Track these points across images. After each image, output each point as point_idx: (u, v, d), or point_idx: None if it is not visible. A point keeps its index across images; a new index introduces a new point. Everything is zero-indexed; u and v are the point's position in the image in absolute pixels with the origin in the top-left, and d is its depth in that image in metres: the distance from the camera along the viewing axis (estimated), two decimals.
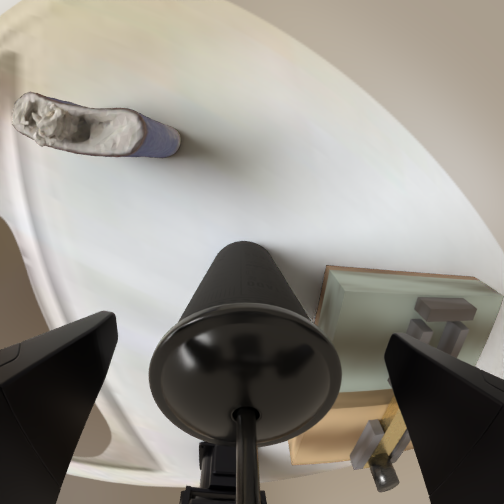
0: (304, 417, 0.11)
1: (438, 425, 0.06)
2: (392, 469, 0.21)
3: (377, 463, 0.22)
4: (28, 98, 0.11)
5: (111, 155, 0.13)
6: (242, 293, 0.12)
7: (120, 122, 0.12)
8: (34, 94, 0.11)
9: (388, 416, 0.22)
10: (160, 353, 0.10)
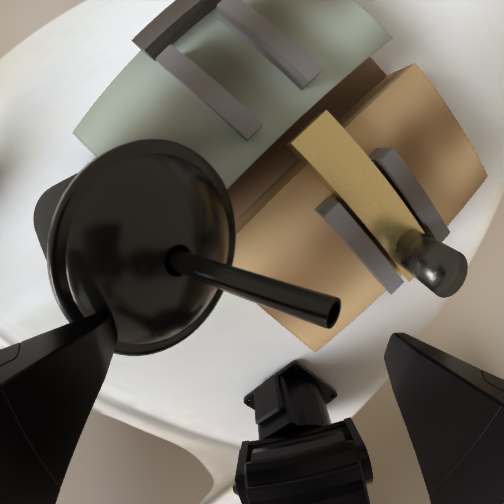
0: (215, 209, 0.11)
1: (438, 425, 0.06)
2: (431, 243, 0.12)
3: (403, 255, 0.14)
4: None
5: None
6: None
7: None
8: None
9: (320, 177, 0.15)
10: (73, 317, 0.08)
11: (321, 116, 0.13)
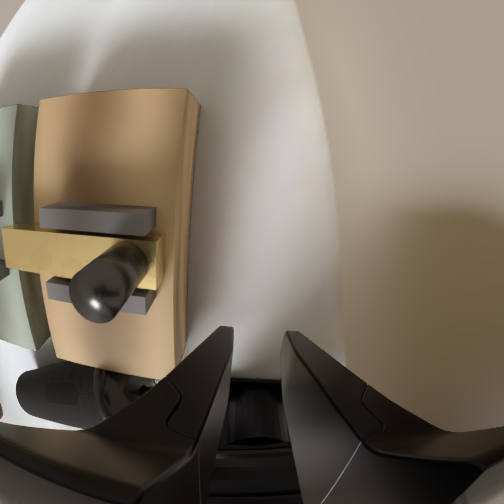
0: (123, 406, 0.17)
1: (310, 444, 0.06)
2: None
3: None
4: None
5: None
6: None
7: None
8: None
9: None
10: None
11: (3, 235, 0.13)
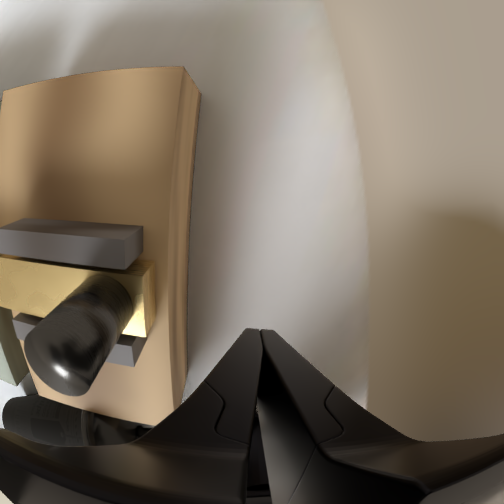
0: None
1: (276, 445, 0.06)
2: None
3: None
4: None
5: None
6: None
7: None
8: None
9: None
10: None
11: None
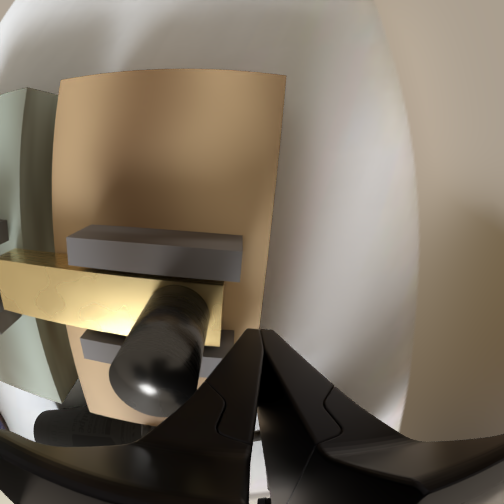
0: None
1: (275, 445, 0.06)
2: (129, 333, 0.08)
3: None
4: None
5: None
6: None
7: None
8: None
9: None
10: None
11: None
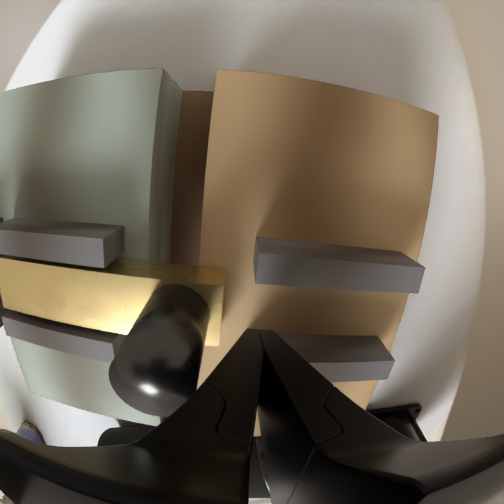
0: None
1: (275, 445, 0.06)
2: None
3: None
4: None
5: None
6: None
7: None
8: None
9: None
10: None
11: None
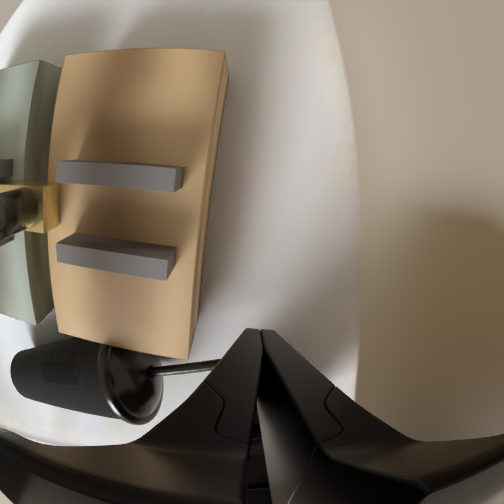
0: (129, 387, 0.17)
1: (276, 445, 0.06)
2: None
3: None
4: None
5: None
6: None
7: None
8: None
9: None
10: (160, 364, 0.23)
11: None
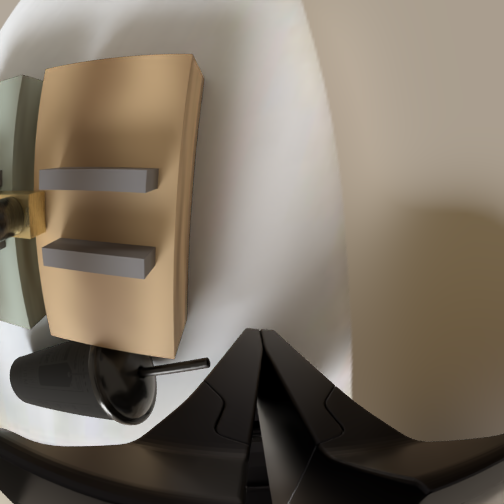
0: (119, 387, 0.17)
1: (276, 445, 0.06)
2: None
3: None
4: None
5: None
6: None
7: None
8: None
9: None
10: (153, 366, 0.23)
11: None
